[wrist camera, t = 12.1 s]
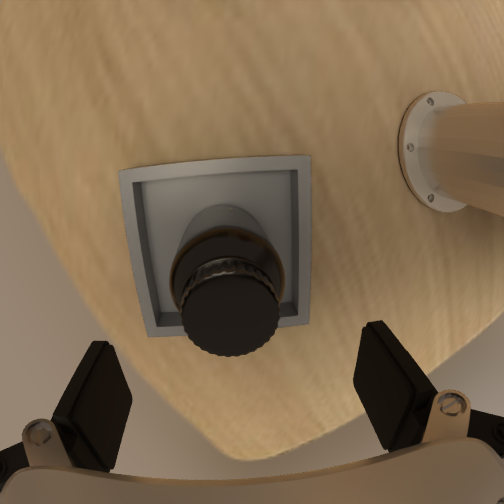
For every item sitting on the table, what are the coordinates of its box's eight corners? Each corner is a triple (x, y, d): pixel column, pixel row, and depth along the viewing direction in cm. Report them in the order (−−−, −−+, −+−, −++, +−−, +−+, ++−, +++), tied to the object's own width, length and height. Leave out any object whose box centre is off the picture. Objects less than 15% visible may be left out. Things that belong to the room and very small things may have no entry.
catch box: (298, 154, 24) (310, 155, 21) (299, 305, 29) (309, 324, 26) (131, 167, 23) (118, 170, 20) (154, 316, 28) (147, 337, 25)
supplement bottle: (258, 285, 27) (285, 377, 16) (180, 277, 26) (157, 368, 15) (271, 207, 25) (315, 258, 13) (187, 197, 24) (158, 241, 12)
